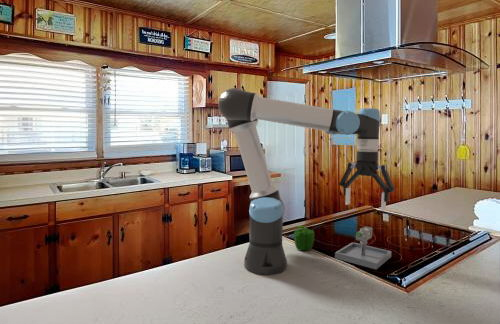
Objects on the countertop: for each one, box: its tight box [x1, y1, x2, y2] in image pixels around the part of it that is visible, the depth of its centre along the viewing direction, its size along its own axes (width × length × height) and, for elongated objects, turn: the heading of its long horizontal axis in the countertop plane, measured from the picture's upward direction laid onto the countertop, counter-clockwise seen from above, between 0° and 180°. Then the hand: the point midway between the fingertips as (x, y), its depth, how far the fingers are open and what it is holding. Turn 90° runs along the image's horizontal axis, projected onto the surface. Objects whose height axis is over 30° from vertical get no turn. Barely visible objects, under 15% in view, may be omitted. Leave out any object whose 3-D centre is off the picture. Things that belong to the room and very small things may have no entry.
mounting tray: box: [334, 242, 392, 270], centre depth 125 cm, size 16×16×2 cm
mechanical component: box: [355, 226, 373, 256], centre depth 125 cm, size 3×10×10 cm, turn 138°
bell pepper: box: [293, 224, 315, 251], centre depth 134 cm, size 8×8×10 cm
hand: (364, 207), depth 124 cm, fingers open, 13 cm apart
